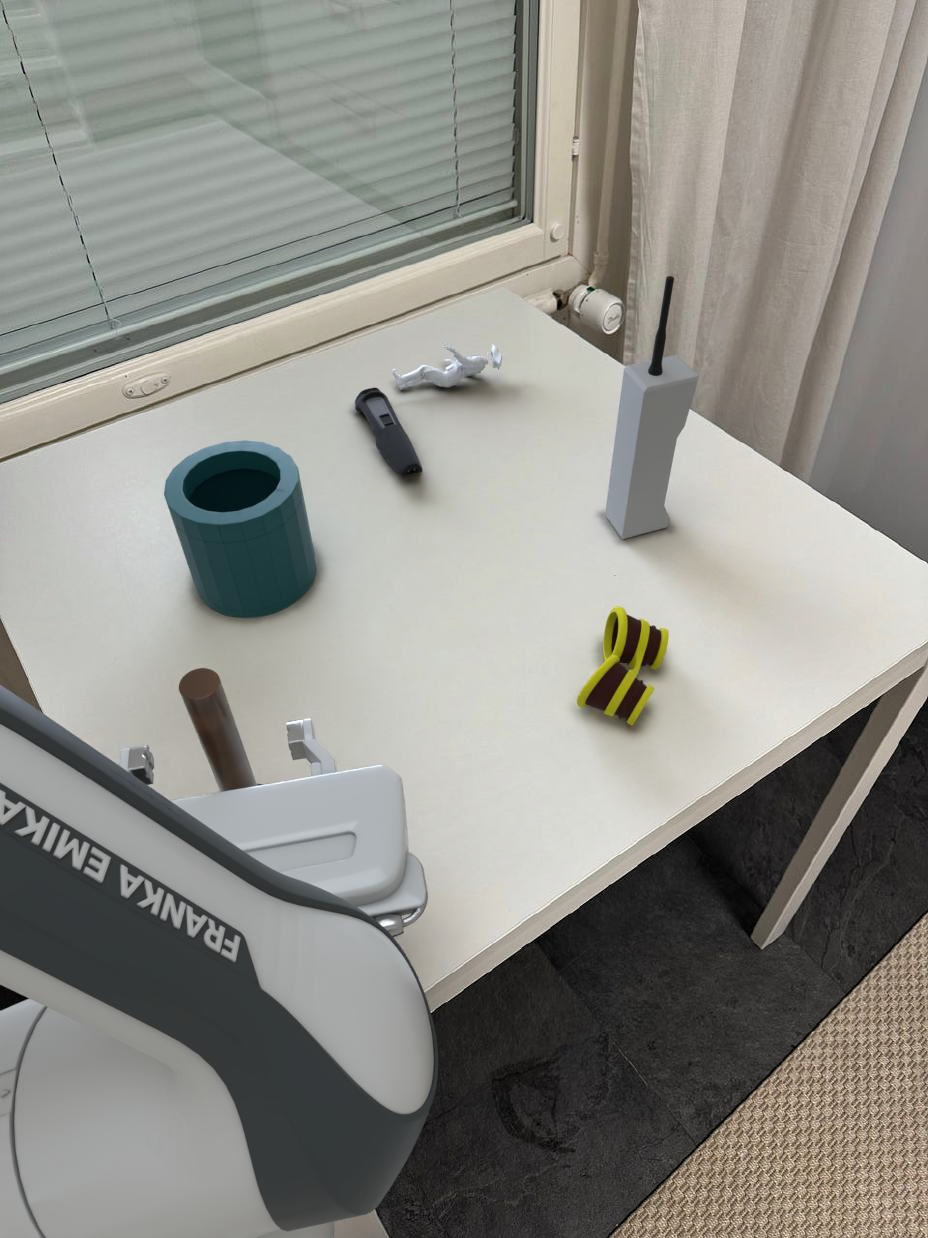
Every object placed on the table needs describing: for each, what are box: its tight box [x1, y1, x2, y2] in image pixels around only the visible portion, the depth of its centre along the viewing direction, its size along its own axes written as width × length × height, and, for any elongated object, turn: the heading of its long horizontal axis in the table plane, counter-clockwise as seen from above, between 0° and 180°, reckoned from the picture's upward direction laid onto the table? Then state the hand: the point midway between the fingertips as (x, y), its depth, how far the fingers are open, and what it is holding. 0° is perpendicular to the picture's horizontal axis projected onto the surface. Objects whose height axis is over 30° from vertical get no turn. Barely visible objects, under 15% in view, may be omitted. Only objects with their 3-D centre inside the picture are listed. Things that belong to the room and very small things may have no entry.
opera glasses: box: [576, 606, 670, 726], centre depth 71 cm, size 10×5×5 cm, turn 159°
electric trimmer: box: [354, 387, 423, 478], centre depth 94 cm, size 4×16×3 cm, turn 21°
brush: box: [178, 667, 264, 792], centre depth 55 cm, size 5×5×20 cm
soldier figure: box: [392, 343, 503, 391], centre depth 101 cm, size 8×5×12 cm
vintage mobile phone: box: [604, 275, 699, 540], centre depth 77 cm, size 4×5×25 cm
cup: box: [163, 439, 317, 619], centre depth 78 cm, size 11×11×11 cm
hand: (220, 738), depth 52 cm, fingers open, 8 cm apart
